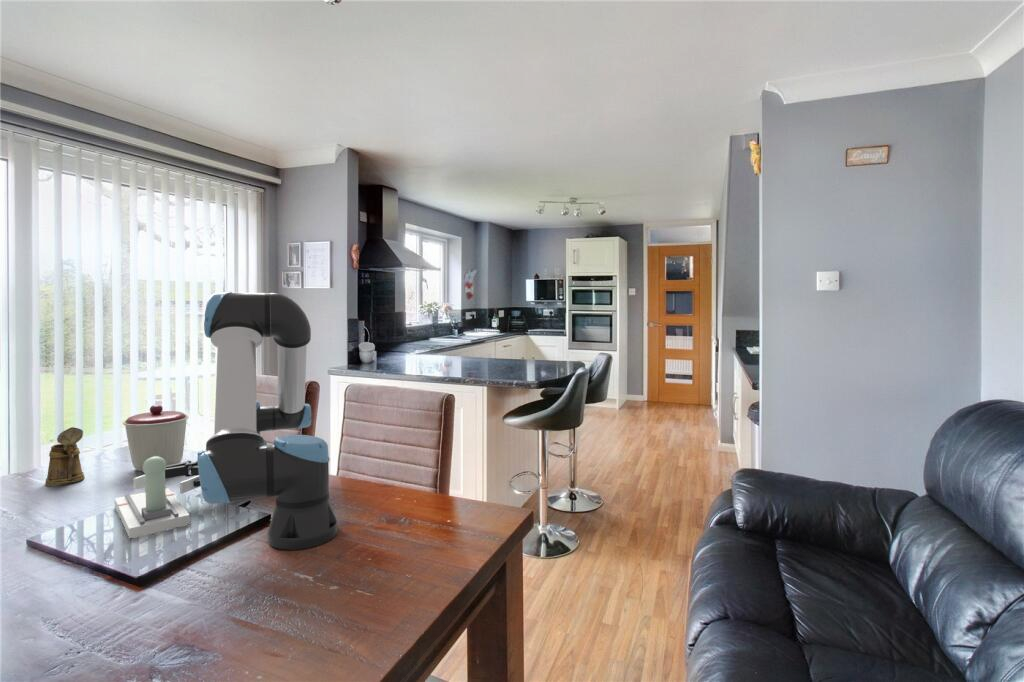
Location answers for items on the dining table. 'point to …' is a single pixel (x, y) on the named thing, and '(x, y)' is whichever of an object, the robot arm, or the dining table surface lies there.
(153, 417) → the canister
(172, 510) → the fader console
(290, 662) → the dining table surface
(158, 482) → the fader knob
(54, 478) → the wooden mug
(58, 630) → the dining table surface
